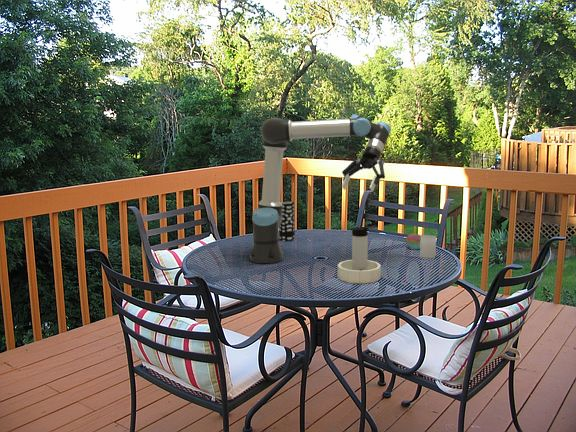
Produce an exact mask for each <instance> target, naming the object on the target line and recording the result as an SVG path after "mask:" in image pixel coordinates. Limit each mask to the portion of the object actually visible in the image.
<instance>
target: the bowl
mask: <svg viewBox="0 0 576 432" xmlns="http://www.w3.org/2000/svg"><path fill="white" fill-rule="evenodd" d="M381 270H382V265H381V264H380V263H379V262H377V261H375V260H374V261H373V260H371V259H370V260H369V259H368V267H367V270H363V271H357V270H352V259H347V260H343V261H340V262H339V263H338V264H337V278H338V279H339V280H340V281H342V282H346V283H349V284H350V283H351V284H358V285H359V284H360V285H361V284H372V283H375V282H378V281H379V280H380V279H381V278H382V275H381V274H382V271H381Z"/></svg>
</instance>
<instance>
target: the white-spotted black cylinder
mask: <svg viewBox="0 0 576 432" xmlns="http://www.w3.org/2000/svg"><path fill="white" fill-rule="evenodd" d="M280 202H281V203H282V222H281V224H280V226H279V227H278V240H279V241H280V242H294V241H295V240H296V235H295V234H296V232H295V231H296V230H295V229H296V227H295V225H296V224H295V223H296V222H295V202H294V201H280Z"/></svg>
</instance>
